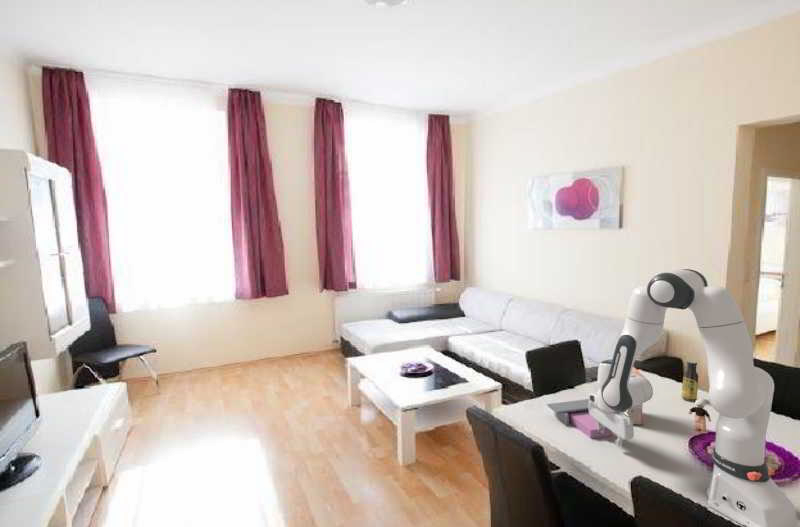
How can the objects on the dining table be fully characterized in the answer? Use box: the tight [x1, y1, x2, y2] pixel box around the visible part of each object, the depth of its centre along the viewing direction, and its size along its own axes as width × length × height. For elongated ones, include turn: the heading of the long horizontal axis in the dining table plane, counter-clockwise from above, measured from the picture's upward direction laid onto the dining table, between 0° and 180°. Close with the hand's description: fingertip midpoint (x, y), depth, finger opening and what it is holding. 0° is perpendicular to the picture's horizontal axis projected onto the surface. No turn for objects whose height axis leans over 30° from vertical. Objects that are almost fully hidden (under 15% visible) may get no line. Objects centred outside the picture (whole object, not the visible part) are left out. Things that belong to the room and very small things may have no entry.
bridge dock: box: [546, 398, 589, 426], centre depth 175 cm, size 10×20×5 cm, turn 101°
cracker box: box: [625, 365, 645, 426], centre depth 174 cm, size 14×6×21 cm, turn 168°
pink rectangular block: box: [568, 411, 612, 439], centre depth 167 cm, size 15×9×4 cm, turn 10°
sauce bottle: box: [681, 360, 699, 403], centre depth 189 cm, size 6×6×18 cm
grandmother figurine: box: [688, 398, 712, 434], centre depth 162 cm, size 8×4×13 cm, turn 41°
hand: (609, 438), depth 154 cm, fingers open, 8 cm apart
